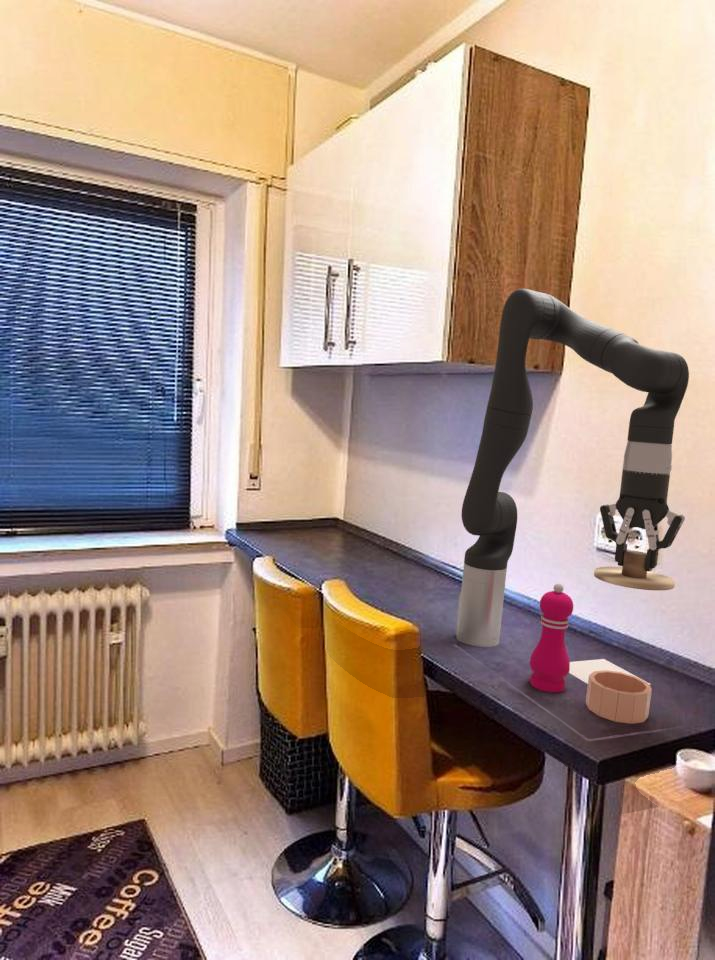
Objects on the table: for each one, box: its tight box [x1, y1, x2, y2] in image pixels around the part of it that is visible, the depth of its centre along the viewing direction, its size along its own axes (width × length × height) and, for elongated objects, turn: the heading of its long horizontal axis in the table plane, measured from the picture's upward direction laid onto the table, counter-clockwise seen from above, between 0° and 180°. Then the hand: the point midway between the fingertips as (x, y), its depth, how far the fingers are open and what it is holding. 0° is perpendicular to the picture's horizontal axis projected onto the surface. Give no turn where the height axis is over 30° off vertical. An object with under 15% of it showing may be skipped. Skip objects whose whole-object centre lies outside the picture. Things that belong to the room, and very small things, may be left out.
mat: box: [568, 658, 652, 686], centre depth 136 cm, size 13×13×1 cm
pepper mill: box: [529, 583, 574, 693], centre depth 127 cm, size 7×7×20 cm
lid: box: [593, 550, 676, 591], centre depth 118 cm, size 13×13×5 cm
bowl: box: [585, 670, 653, 725], centre depth 120 cm, size 10×10×6 cm
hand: (635, 567), depth 118 cm, fingers closed on lid, 4 cm apart
